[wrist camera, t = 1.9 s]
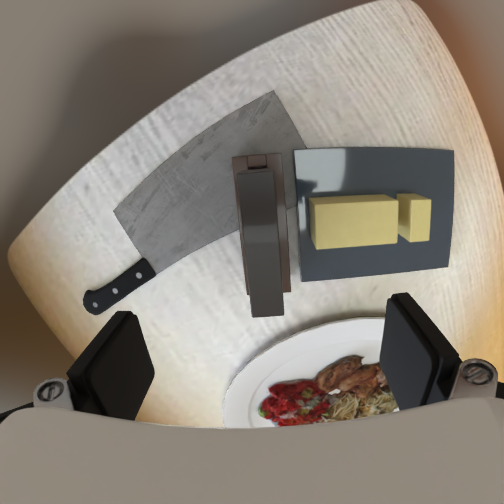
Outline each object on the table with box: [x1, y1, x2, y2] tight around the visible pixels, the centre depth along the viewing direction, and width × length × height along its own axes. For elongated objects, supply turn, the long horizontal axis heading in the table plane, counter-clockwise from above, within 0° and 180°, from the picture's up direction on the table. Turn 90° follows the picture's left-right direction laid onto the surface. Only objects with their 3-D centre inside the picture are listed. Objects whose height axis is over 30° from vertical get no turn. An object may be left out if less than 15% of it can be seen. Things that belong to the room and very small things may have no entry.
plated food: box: [222, 317, 400, 428], centre depth 33 cm, size 30×30×3 cm
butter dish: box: [293, 147, 454, 282], centre depth 26 cm, size 16×12×1 cm
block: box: [232, 153, 291, 295], centre depth 26 cm, size 4×12×3 cm, turn 6°
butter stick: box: [309, 194, 398, 249], centre depth 24 cm, size 7×4×3 cm, turn 96°
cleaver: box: [83, 90, 307, 315], centre depth 27 cm, size 29×1×10 cm
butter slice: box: [397, 193, 431, 242], centre depth 24 cm, size 2×4×3 cm, turn 5°
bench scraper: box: [236, 168, 284, 318], centre depth 23 cm, size 2×10×9 cm, turn 5°
